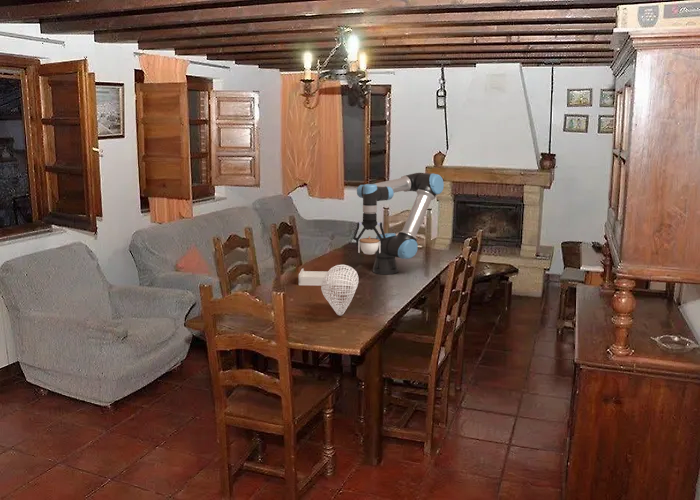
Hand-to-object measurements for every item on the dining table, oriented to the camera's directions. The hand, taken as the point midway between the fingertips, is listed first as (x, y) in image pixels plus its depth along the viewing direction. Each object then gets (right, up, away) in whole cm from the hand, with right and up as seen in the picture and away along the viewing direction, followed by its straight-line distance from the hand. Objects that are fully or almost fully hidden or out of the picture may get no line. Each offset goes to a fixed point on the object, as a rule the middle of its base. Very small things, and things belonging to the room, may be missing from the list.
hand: (369, 252), depth 359 cm
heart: (-15, -29, -57) cm, 66 cm away
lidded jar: (0, -1, 0) cm, 1 cm away
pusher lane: (-23, -17, +5) cm, 29 cm away
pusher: (-12, -16, +4) cm, 20 cm away
